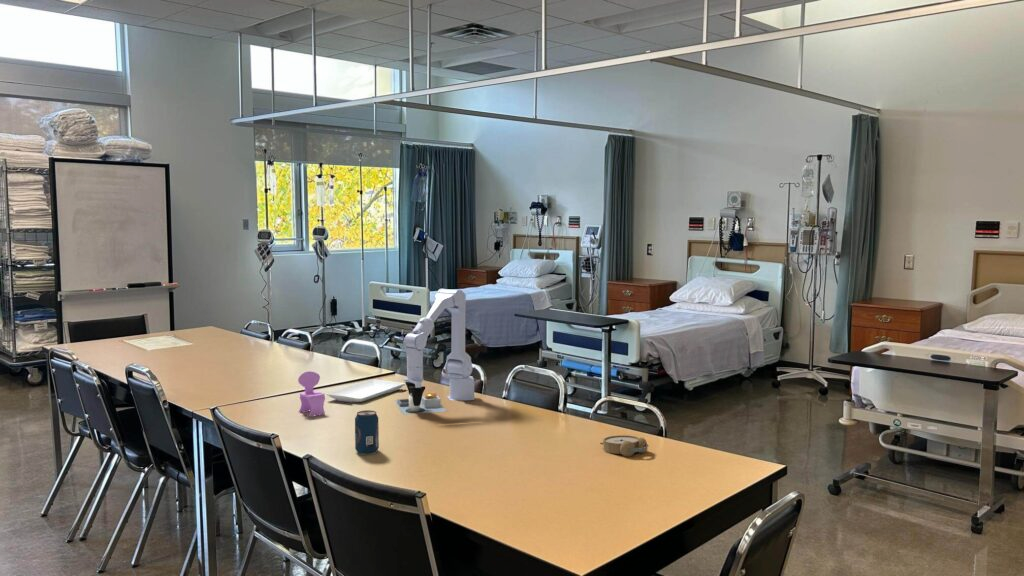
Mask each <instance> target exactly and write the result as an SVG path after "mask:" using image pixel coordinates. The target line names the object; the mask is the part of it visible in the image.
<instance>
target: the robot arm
mask: <svg viewBox="0 0 1024 576" xmlns="http://www.w3.org/2000/svg"><path fill="white" fill-rule="evenodd" d="M466 295H467V294H466V293H465V292H464V291H463V290H462V289H448V288H439V289H438V291H437V292H436V294H435V295H434V300H435V301H434V302H433V304H432V305H431V307H430V309H429V311H428V312H427V315H426V316H424V317H421V318H420V319H419V320H418V323H416V326H415V327H414V329H413V330H412V331H411V332H409V333H407V334H406V335H405V337H404V338H403V341H402V343H403V347H404V348H405V353H406V377H404V378H403V381H404V383H405V386H406V388H407V391H408V396H409V395H410V393H412V397H413V404H414V406H420V404H421V399H422V396H424V395H423V394H424V392H425V389H426V386H423V385H422V383H423V381H424V374H423V373H424V361H423V360H424V359H423V358H424V354H423V353H424V351H423V350H424V349H425V347H426V346H427V342H428V336H430V334H431V332H432V331H433V330H434V328H435V323H434V322H435V321H436V320H437V319H438V317H439V316H441V314H442V313H443V311H444V310H446V309H448V311H449V312H450V313H451V347H450V348H451V350H450V353H449V354H448V355H446V359H445V361H446V362H445V365H444V370H445V373H446V374H447V377H448V378H449V395H446V396H447V398H448V399H449V400H450V401H462V402H463V401H474V400H475V379H474V376H471V374H472V372H473V369H474V368H473V363H472V357H471V356H470V355H469V353H468V352H466V309H467V307H466V306H467V304H466V302H467V296H466Z"/></svg>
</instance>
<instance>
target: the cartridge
mask: <svg viewBox="0 0 1024 576" xmlns="http://www.w3.org/2000/svg"><path fill="white" fill-rule="evenodd" d="M408 399H409V411H419V410H420V406H414V404H413V397H412V393H410V395H409V394H408Z"/></svg>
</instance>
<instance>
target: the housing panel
mask: <svg viewBox="0 0 1024 576" xmlns="http://www.w3.org/2000/svg"><path fill="white" fill-rule="evenodd" d="M441 401H442V400H441V398H440V397H439V395H437V396H436V399H426V397H425V395H422V399H421V404H420V408H423V409H425V411H424V412H421V413H420V414H431V413H441V412H442V413H445V412H448V410H447V409H446V408H445V407H444V406H443V404H441ZM394 402H395V404H396V405H397V408H399V411H400V412H401V413H402V415H416V414H419V413H408V412H406V409H408V408H409V398H401V399H400V398H399V399H397V400H394Z"/></svg>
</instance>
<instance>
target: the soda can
mask: <svg viewBox="0 0 1024 576" xmlns="http://www.w3.org/2000/svg"><path fill="white" fill-rule="evenodd" d="M379 427H380V426H379V416H378V415H377V411H376V410H371V409H370V410H361V411H360V410H359V411H357V413H356V415H355V418H354V435H355V436H354V442H355V444H354V445H355V446H354V447H355V451H356V453H357V454H359V455H361V456H363V455H368V456H369V455H373V454H376V453H377V452H378V449H379V447H380V441H379V439H380V438H379V437H380V436H379V433H380V432H379Z"/></svg>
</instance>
